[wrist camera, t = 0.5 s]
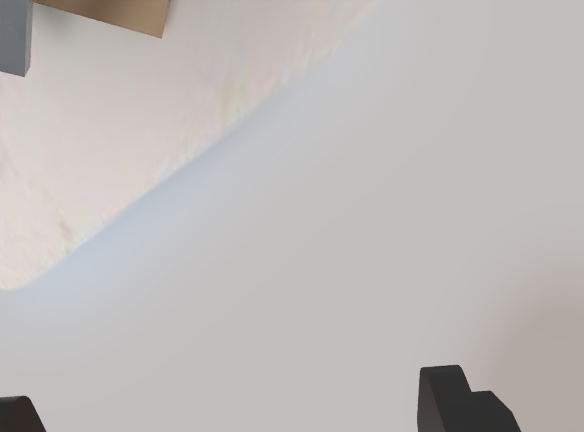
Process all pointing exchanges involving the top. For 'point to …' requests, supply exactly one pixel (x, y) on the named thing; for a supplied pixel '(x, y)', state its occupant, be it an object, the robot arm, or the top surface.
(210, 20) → the top surface
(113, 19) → the board
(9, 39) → the capstan
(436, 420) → the robot arm
